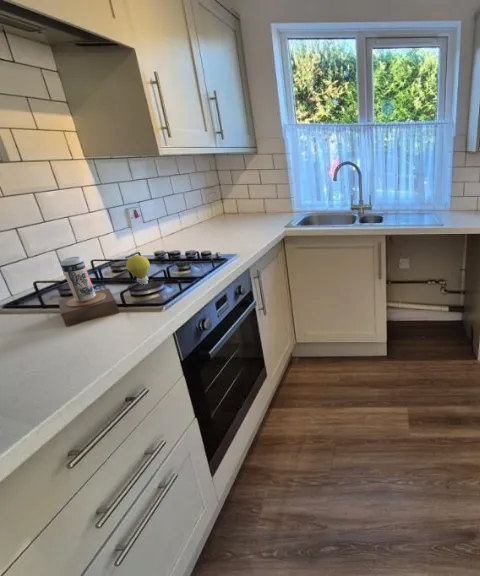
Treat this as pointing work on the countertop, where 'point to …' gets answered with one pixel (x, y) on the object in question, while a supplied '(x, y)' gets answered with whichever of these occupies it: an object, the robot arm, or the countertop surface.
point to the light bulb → (138, 268)
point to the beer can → (78, 279)
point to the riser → (88, 308)
